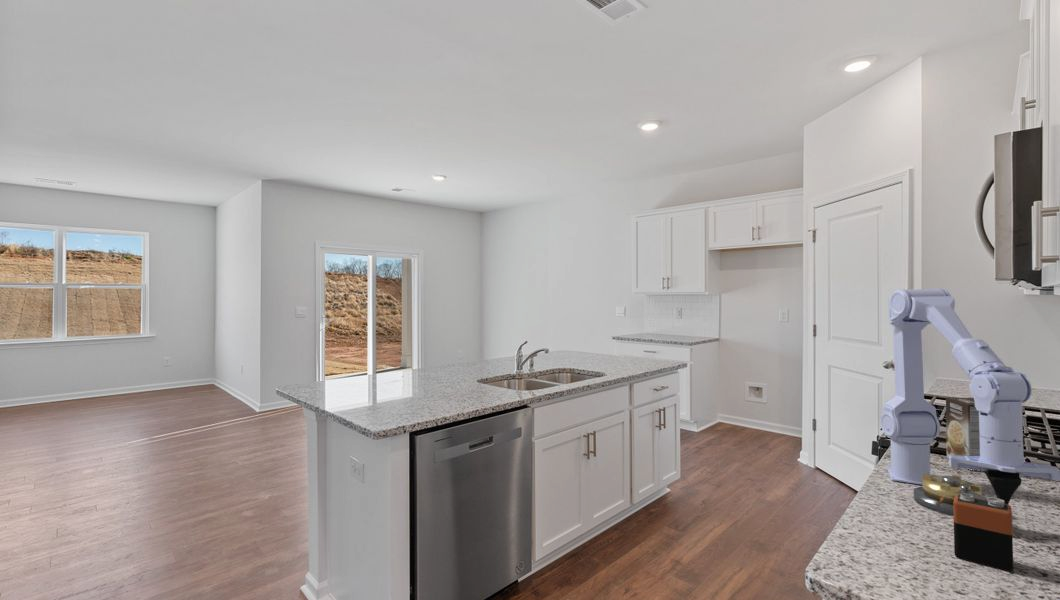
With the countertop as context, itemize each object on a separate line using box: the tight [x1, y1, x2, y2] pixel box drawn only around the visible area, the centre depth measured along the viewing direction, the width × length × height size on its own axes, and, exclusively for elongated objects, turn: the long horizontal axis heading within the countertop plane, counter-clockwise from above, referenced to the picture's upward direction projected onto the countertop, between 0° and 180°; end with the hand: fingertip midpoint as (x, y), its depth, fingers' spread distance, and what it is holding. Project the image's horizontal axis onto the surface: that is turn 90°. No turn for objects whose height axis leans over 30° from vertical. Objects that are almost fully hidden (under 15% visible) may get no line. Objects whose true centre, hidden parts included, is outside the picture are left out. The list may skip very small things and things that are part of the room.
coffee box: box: [945, 397, 980, 470], centre depth 121 cm, size 9×6×16 cm
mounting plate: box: [913, 486, 954, 517], centre depth 99 cm, size 12×12×2 cm
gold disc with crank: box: [922, 473, 987, 504], centre depth 95 cm, size 17×9×4 cm, turn 172°
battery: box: [953, 493, 1014, 572], centre depth 78 cm, size 4×7×10 cm, turn 47°
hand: (1002, 512), depth 89 cm, fingers closed
